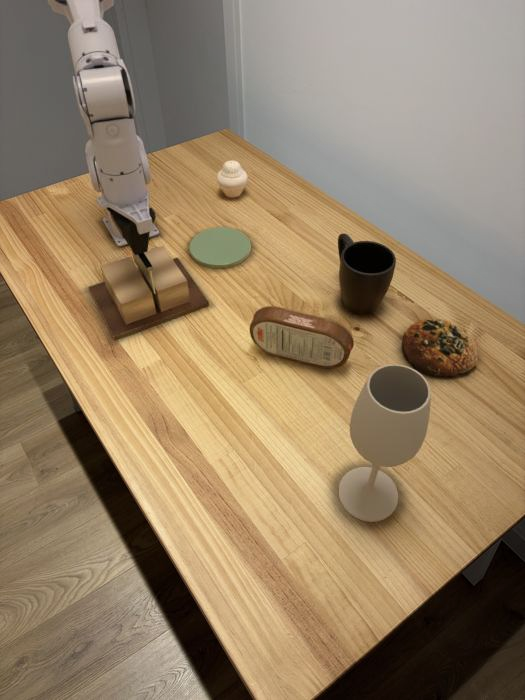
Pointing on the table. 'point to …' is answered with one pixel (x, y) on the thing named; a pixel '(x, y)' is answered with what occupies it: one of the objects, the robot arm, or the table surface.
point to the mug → (364, 273)
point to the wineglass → (384, 438)
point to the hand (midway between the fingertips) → (137, 247)
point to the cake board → (150, 321)
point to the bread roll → (439, 348)
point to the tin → (301, 337)
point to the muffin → (232, 179)
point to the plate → (220, 247)
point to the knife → (142, 264)
